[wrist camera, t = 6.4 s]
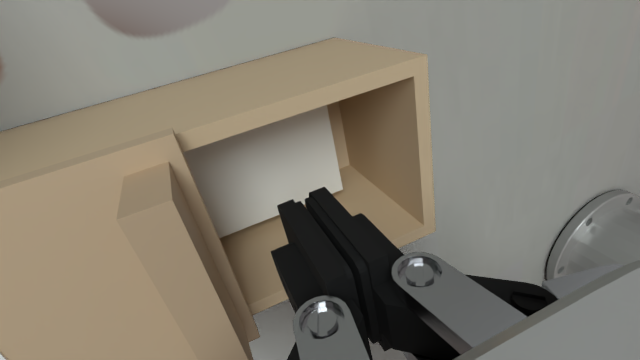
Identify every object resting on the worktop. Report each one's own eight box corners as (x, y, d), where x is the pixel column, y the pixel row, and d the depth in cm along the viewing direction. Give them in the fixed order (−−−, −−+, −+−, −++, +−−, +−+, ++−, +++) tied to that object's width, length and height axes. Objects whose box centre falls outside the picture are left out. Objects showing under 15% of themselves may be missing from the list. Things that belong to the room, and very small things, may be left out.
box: (334, 37, 20) (426, 54, 13) (355, 167, 24) (435, 231, 17) (0, 131, 16) (-113, 225, 9) (92, 268, 20) (61, 403, 13)
